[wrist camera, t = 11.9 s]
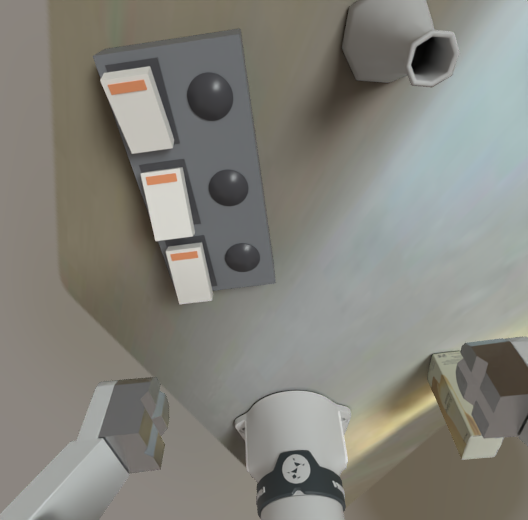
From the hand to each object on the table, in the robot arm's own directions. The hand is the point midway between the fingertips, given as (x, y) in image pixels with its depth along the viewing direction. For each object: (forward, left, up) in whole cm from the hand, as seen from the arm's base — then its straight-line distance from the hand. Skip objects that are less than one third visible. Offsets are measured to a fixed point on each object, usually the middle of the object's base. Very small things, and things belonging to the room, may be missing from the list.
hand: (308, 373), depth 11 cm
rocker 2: (-15, +10, -24) cm, 30 cm away
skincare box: (-41, -21, -29) cm, 55 cm away
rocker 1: (+1, +10, -24) cm, 26 cm away
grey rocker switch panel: (-7, +7, -29) cm, 31 cm away
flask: (+3, -10, -29) cm, 31 cm away
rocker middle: (-7, +10, -24) cm, 27 cm away
